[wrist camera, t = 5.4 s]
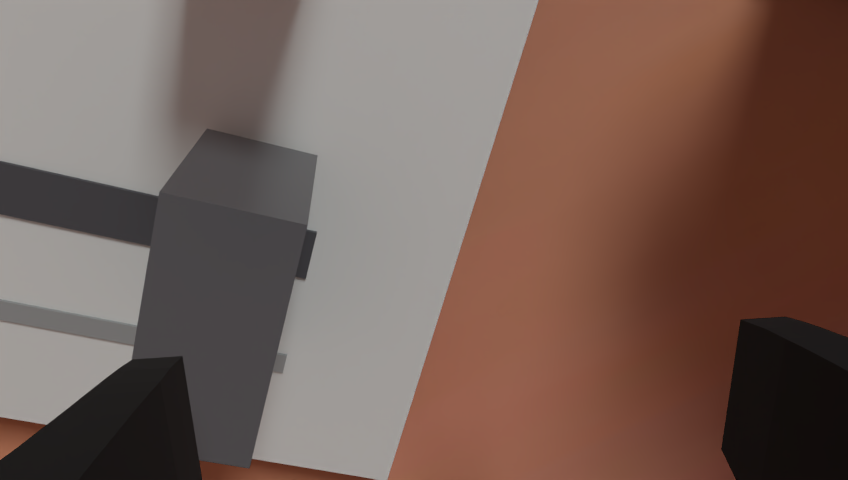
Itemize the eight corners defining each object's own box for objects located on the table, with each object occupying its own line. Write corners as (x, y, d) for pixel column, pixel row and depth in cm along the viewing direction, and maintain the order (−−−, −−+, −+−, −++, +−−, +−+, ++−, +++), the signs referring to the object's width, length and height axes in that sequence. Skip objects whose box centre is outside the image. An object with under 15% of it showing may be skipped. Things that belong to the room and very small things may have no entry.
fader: (317, 155, 17) (307, 224, 13) (271, 350, 18) (249, 468, 14) (206, 128, 16) (159, 191, 12) (169, 331, 18) (117, 446, 14)
